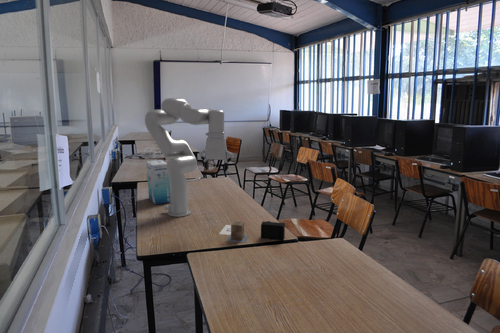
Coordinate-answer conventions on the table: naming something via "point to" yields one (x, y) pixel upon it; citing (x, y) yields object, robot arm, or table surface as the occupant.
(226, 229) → the card
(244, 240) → the rubber mat
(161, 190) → the toothbrush box
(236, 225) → the walnut block
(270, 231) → the digital camera
